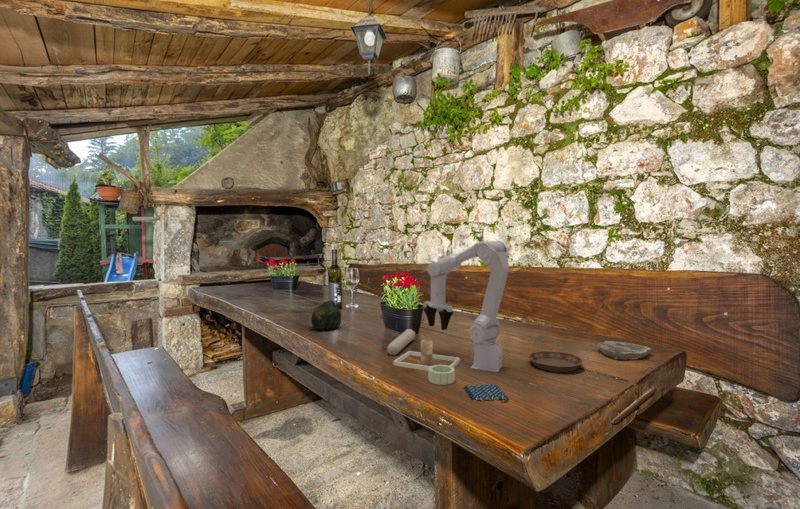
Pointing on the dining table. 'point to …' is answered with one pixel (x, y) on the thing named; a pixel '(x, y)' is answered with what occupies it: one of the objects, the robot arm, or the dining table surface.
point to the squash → (326, 316)
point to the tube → (401, 342)
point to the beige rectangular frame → (423, 367)
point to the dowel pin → (426, 352)
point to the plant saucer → (555, 361)
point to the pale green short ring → (441, 374)
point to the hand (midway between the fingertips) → (437, 327)
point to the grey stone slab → (623, 350)
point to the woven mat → (485, 393)
